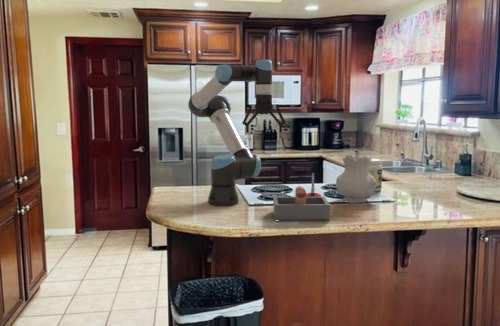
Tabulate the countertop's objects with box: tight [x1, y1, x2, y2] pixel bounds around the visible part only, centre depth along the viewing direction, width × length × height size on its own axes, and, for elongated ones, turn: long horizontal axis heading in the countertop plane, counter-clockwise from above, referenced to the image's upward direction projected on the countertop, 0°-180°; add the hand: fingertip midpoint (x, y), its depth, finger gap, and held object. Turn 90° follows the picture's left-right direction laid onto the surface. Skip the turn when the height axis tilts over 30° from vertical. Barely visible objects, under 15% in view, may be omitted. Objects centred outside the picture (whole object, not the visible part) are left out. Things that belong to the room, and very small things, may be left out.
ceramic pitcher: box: [335, 148, 376, 204], centre depth 213 cm, size 22×20×25 cm
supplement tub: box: [368, 158, 383, 192], centre depth 237 cm, size 12×12×17 cm
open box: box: [272, 196, 331, 222], centre depth 186 cm, size 23×15×7 cm, turn 89°
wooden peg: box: [294, 185, 307, 204], centre depth 185 cm, size 4×6×12 cm, turn 179°
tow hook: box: [306, 172, 322, 197], centre depth 223 cm, size 8×13×9 cm
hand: (263, 139), depth 201 cm, fingers open, 13 cm apart
